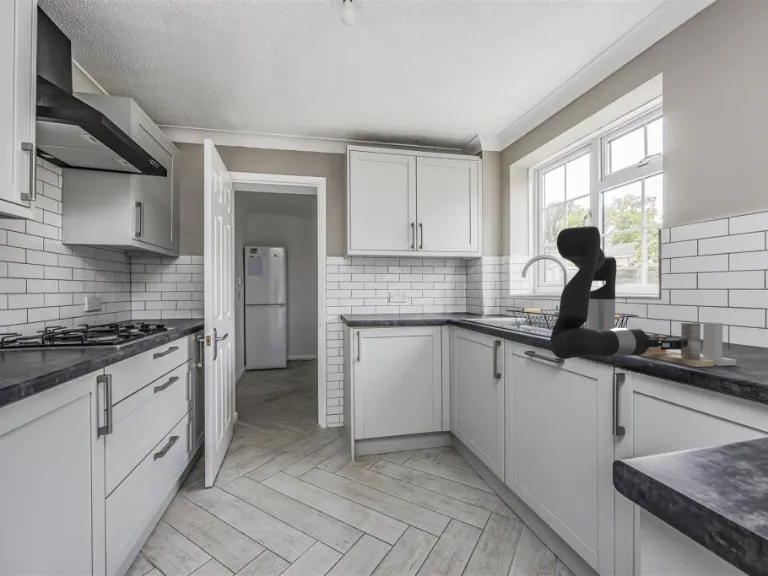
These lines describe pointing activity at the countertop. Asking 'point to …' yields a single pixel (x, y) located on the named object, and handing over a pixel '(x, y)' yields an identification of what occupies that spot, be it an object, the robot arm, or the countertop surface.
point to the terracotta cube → (656, 349)
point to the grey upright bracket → (712, 345)
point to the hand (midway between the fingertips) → (671, 340)
